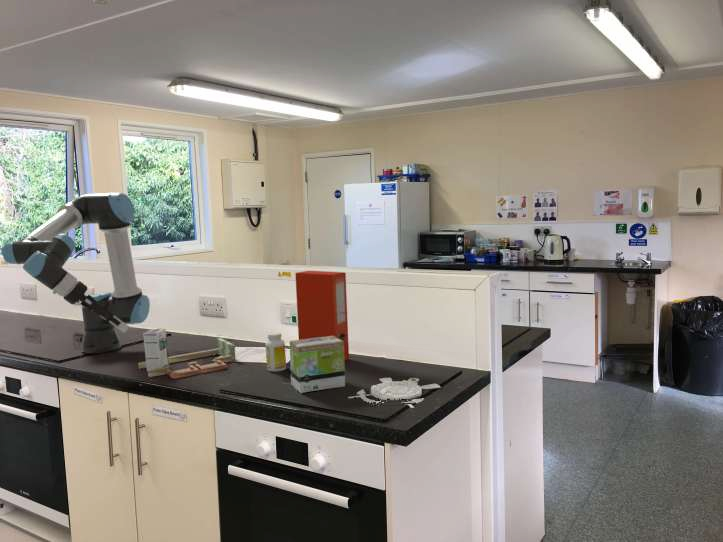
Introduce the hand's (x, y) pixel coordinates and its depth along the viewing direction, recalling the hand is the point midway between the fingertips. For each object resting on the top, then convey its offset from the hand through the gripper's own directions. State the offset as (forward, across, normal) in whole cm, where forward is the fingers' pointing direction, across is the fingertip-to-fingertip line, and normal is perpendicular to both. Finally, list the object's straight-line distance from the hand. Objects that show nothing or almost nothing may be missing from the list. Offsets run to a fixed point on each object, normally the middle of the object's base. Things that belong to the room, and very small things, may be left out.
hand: (122, 326), depth 208 cm
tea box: (+45, +55, +20) cm, 74 cm away
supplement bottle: (+44, +29, +18) cm, 55 cm away
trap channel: (+28, +4, +3) cm, 28 cm away
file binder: (+58, +28, +33) cm, 72 cm away
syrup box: (+20, 0, -5) cm, 21 cm away
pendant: (+56, +75, +30) cm, 99 cm away
